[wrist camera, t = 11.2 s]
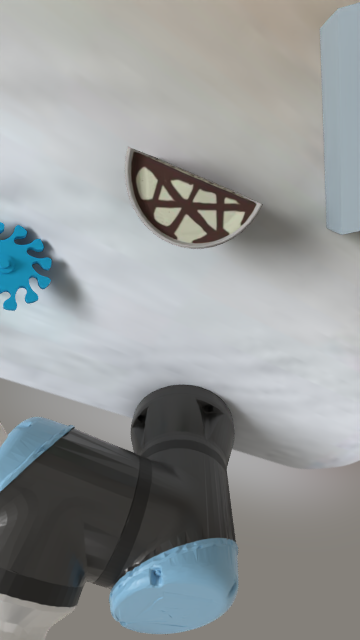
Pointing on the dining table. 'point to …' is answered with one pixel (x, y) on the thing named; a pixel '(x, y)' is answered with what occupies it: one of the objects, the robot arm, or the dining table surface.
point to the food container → (184, 203)
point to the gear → (20, 267)
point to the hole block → (341, 117)
